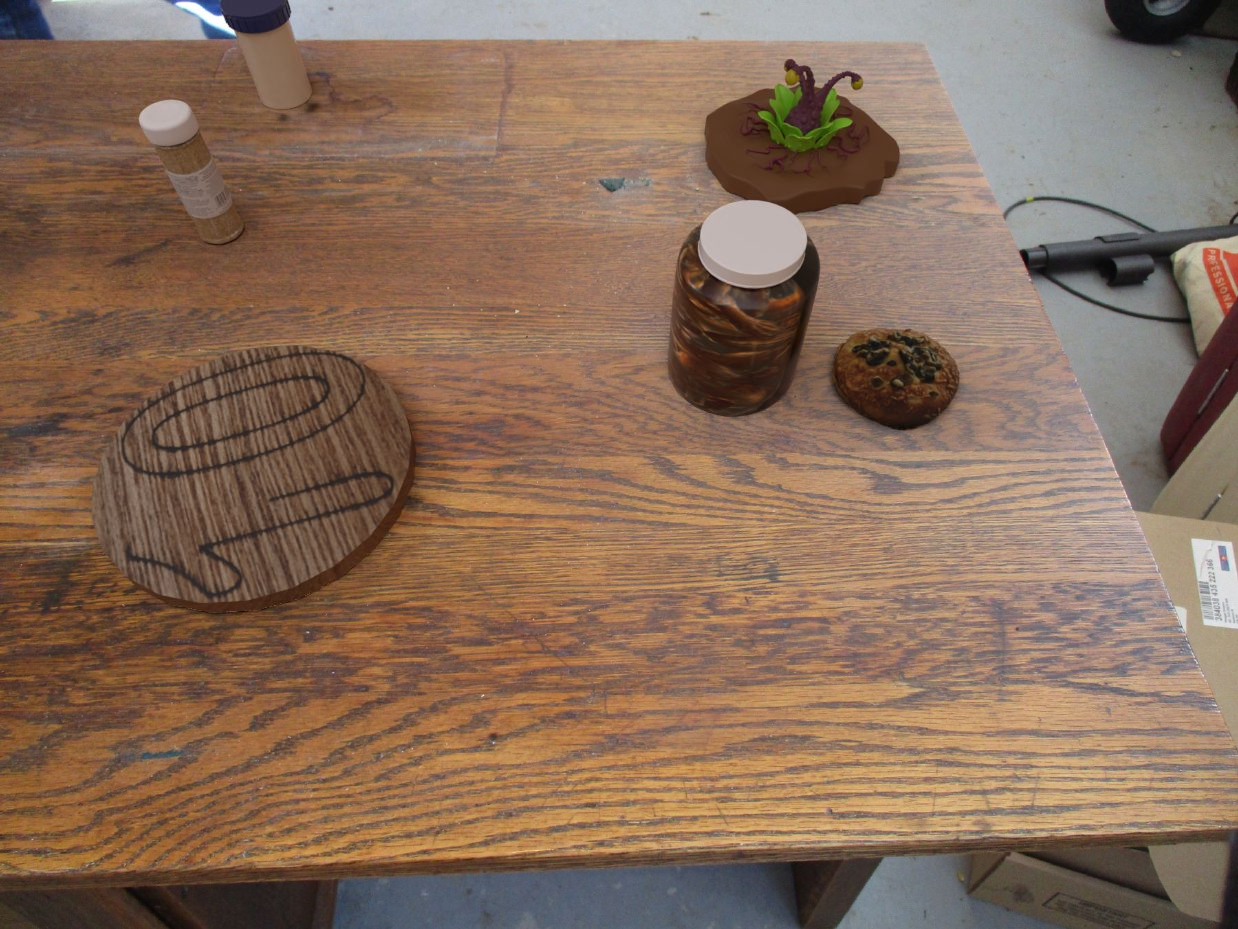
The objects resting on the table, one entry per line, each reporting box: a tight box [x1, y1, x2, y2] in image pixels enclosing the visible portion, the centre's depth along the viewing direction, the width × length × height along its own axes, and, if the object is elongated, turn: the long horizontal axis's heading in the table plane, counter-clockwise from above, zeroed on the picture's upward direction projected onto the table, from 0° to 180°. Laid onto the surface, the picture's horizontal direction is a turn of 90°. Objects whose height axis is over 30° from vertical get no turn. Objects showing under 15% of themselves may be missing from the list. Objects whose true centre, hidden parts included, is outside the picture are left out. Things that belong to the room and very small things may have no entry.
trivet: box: [91, 344, 417, 613], centre depth 68 cm, size 25×25×2 cm
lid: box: [219, 0, 292, 34], centre depth 90 cm, size 7×7×2 cm
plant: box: [704, 58, 901, 215], centre depth 88 cm, size 20×20×11 cm
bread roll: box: [831, 327, 961, 431], centre depth 73 cm, size 11×11×5 cm
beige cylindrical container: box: [233, 19, 313, 110], centre depth 94 cm, size 6×6×11 cm
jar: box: [667, 199, 821, 417], centre depth 69 cm, size 12×12×15 cm
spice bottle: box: [138, 99, 245, 245], centre depth 80 cm, size 5×5×13 cm
